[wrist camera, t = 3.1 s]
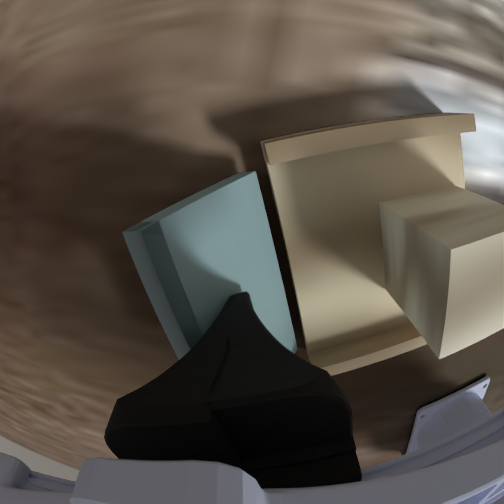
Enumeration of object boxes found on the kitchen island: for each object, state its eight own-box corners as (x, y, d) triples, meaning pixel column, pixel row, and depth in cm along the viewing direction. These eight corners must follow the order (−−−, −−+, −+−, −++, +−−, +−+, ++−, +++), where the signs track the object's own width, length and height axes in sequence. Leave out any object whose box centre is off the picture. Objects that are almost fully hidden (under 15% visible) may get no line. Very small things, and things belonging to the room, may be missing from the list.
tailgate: (297, 349, 16) (235, 436, 12) (281, 346, 17) (217, 428, 12) (255, 171, 12) (140, 231, 8) (236, 173, 13) (121, 231, 9)
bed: (448, 304, 17) (469, 326, 14) (306, 350, 17) (314, 380, 15) (443, 112, 12) (473, 113, 10) (259, 141, 13) (264, 143, 11)
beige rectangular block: (455, 266, 14) (517, 320, 9) (385, 289, 15) (438, 359, 9) (455, 185, 13) (535, 220, 8) (378, 202, 13) (450, 249, 8)
